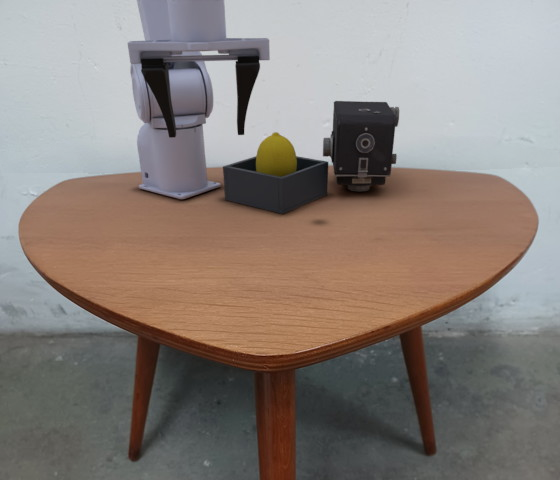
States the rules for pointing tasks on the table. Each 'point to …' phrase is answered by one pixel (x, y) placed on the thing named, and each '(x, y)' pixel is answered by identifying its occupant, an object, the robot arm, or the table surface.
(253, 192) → the bin
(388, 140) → the camera
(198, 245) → the table surface
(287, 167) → the lemon
